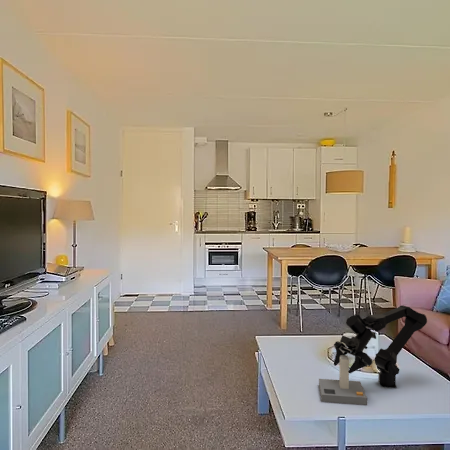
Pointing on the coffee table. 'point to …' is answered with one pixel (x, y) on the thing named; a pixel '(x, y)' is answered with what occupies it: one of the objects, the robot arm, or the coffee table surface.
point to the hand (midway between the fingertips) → (341, 368)
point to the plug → (344, 372)
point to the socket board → (342, 392)
